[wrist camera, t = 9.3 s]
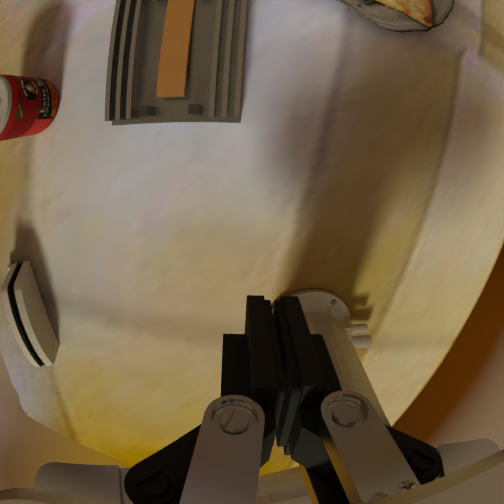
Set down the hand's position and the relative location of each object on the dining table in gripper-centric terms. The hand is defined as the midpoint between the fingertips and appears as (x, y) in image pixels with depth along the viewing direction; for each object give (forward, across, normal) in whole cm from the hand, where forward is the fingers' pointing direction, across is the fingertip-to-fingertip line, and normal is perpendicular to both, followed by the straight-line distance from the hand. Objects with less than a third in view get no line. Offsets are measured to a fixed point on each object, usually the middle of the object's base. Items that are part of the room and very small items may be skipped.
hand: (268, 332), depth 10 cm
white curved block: (+28, +33, +20) cm, 47 cm away
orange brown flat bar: (+23, +8, -16) cm, 29 cm away
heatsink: (+27, +8, -16) cm, 32 cm away
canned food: (+27, +28, -11) cm, 41 cm away
